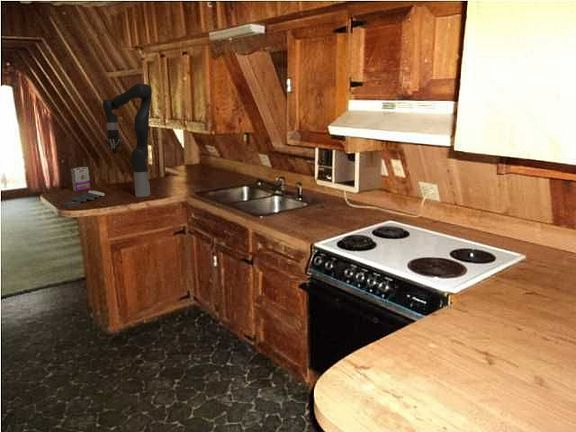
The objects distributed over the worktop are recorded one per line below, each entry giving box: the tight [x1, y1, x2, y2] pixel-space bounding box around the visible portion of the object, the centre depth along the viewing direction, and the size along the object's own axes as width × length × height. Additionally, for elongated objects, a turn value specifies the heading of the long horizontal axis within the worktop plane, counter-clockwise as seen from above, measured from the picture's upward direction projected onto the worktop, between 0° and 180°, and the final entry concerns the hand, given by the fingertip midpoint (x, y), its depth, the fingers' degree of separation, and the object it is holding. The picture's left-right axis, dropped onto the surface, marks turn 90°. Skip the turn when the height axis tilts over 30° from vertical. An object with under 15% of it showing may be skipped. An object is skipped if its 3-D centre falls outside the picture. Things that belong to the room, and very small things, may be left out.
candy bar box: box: [70, 166, 92, 192], centre depth 329 cm, size 11×5×16 cm, turn 143°
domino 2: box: [67, 195, 88, 203], centre depth 295 cm, size 2×5×10 cm
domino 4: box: [82, 191, 101, 199], centre depth 305 cm, size 2×5×10 cm
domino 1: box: [61, 200, 82, 208], centre depth 290 cm, size 2×5×10 cm
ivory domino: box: [87, 190, 105, 197], centre depth 311 cm, size 2×5×10 cm
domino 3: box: [75, 193, 95, 201], centre depth 300 cm, size 2×5×10 cm
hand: (114, 153), depth 324 cm, fingers closed
